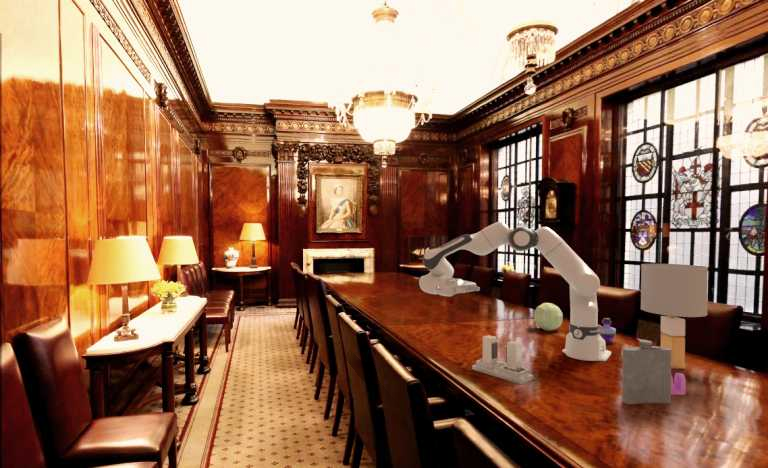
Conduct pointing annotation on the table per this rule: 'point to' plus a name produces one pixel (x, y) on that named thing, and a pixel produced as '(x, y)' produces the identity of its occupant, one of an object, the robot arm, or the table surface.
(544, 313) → the decorative sphere
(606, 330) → the potion bottle
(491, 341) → the loose rectangular block
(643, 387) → the hip flask
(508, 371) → the pillar on stepped tray
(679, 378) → the bracket
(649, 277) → the lamp
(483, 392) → the table surface
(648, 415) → the table surface
